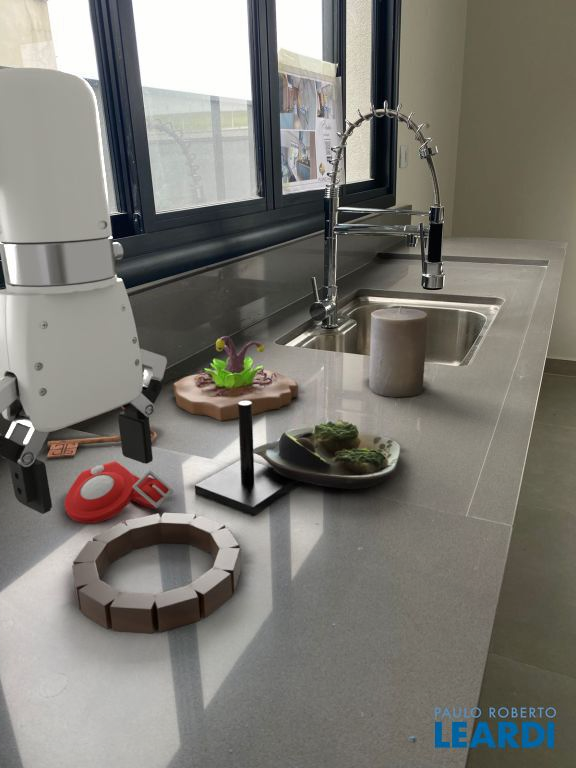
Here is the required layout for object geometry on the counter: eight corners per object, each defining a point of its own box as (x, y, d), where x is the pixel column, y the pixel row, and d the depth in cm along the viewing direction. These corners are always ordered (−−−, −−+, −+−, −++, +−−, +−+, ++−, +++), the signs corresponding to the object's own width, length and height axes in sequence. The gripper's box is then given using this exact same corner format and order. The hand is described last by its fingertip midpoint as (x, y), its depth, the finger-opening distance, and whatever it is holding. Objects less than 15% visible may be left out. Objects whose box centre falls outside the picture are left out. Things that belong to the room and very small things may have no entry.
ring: (42, 588, 56) (39, 566, 55) (163, 518, 67) (162, 499, 66) (154, 659, 47) (152, 634, 47) (270, 564, 59) (270, 543, 58)
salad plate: (292, 425, 92) (293, 396, 91) (410, 443, 86) (413, 412, 85) (241, 472, 74) (242, 437, 73) (386, 498, 69) (389, 460, 67)
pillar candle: (433, 388, 108) (439, 305, 103) (403, 402, 102) (408, 314, 97) (388, 376, 115) (392, 298, 110) (357, 389, 108) (359, 306, 103)
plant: (153, 397, 105) (147, 334, 101) (240, 373, 118) (238, 316, 114) (224, 429, 91) (221, 357, 88) (314, 397, 104) (314, 334, 100)
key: (43, 460, 82) (155, 451, 84) (42, 455, 82) (155, 445, 84) (51, 440, 87) (157, 432, 89) (50, 434, 87) (156, 426, 89)
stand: (195, 494, 72) (189, 406, 69) (243, 466, 79) (240, 385, 76) (253, 516, 67) (250, 423, 64) (299, 485, 74) (299, 399, 71)
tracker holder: (59, 524, 64) (60, 465, 72) (74, 551, 66) (73, 491, 75) (170, 486, 66) (159, 433, 74) (181, 514, 68) (169, 459, 76)
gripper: (122, 251, 52) (142, 435, 57) (-94, 278, 38) (-41, 515, 44) (185, 255, 47) (200, 453, 53) (-33, 287, 34) (17, 548, 40)
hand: (90, 481), depth 48 cm, fingers open, 9 cm apart
